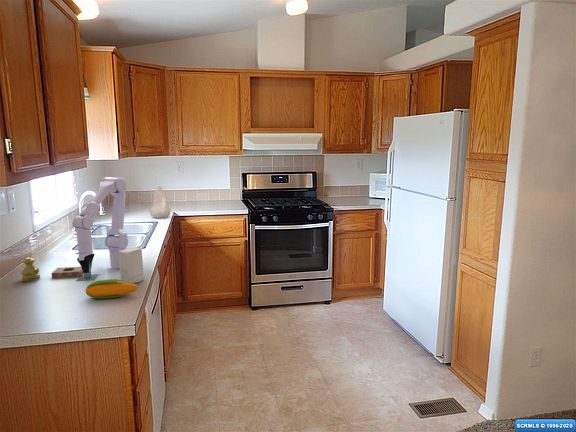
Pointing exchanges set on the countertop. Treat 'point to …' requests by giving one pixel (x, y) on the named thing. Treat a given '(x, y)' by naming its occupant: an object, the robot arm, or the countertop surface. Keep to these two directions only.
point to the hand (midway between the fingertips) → (87, 271)
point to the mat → (93, 277)
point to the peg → (88, 275)
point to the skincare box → (131, 265)
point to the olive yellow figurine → (29, 271)
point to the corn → (109, 289)
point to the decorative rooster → (159, 204)
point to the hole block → (67, 272)
